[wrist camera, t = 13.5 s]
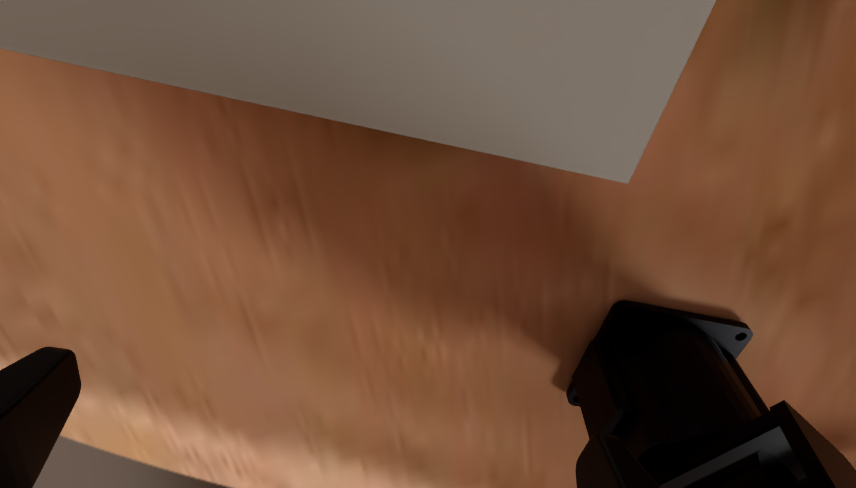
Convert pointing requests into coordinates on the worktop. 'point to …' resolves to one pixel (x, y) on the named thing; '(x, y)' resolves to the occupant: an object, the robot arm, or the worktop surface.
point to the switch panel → (403, 64)
